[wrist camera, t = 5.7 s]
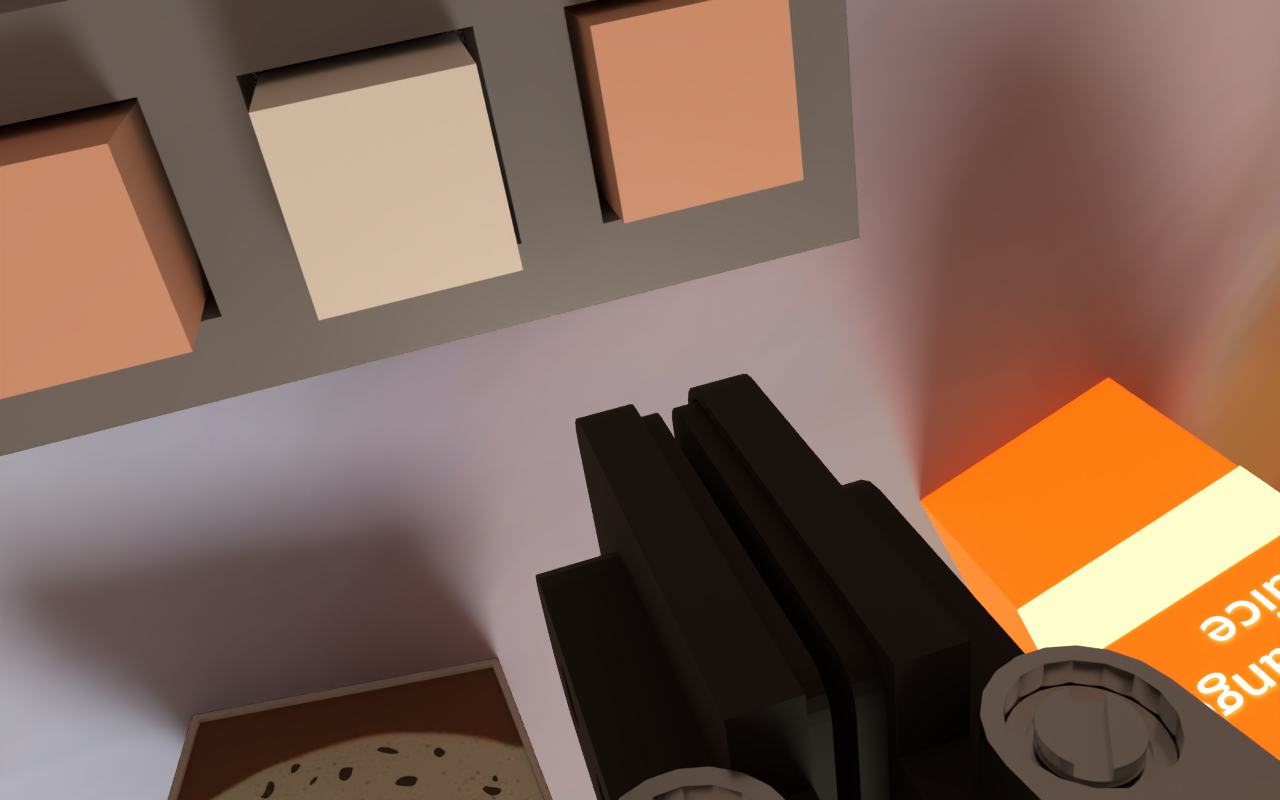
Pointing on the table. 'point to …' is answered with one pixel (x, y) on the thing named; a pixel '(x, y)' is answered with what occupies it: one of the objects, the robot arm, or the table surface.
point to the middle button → (386, 173)
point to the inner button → (685, 100)
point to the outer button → (91, 251)
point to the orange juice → (1128, 550)
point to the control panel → (255, 226)
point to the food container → (369, 743)
